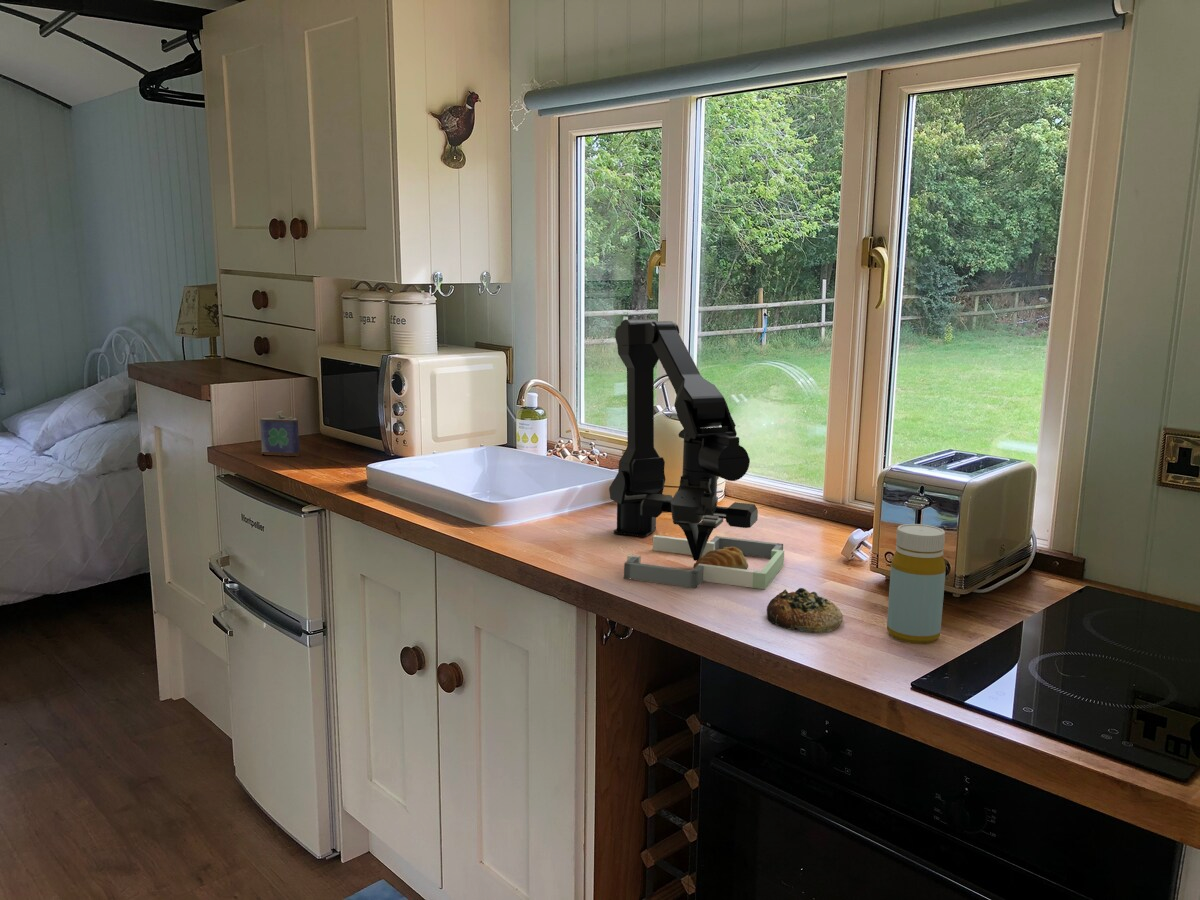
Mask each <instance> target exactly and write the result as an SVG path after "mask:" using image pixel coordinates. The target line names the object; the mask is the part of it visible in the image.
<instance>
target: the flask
mask: <svg viewBox="0 0 1200 900" xmlns="http://www.w3.org/2000/svg"><path fill="white" fill-rule="evenodd" d="M283 412H284V411H283V410H279V411H277V412H274V414H275V415H276V417H261V418H260V421H259V423H260V435H261V437H260V439H261V440H260V441H261V442H260V443H261V453H262V452H279V453H298V452H300V451H301V450H300V447H301V446H300V437H299V436H300V435H299V420H298V419H297V418H295V417H294V418H293V417H292V416H285V414H282V413H283Z"/></svg>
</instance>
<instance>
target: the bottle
mask: <svg viewBox="0 0 1200 900" xmlns="http://www.w3.org/2000/svg"><path fill="white" fill-rule="evenodd" d="M945 538H946V532H945V530H944V529H943V528H940V527H937V526H934V525H929V524H924V523H923V524H922V523H921V524H920V523H906V524H901V525H899V526H897V528H896V537H895V542H896V543H895V544H896V545H895V552H894V553H893V557H892V558H891V564H890V565H891V566H890V573H889V574H890V576H889V587H888V588H889V589H888V604H887V617H886V630H887V632H888V634H889V635H890V636H891V637H892V638H893V639H896V640H898V641H900V642H904V643H909V644H917V645H924V644H931V643H934V642H935V641H936V640H938V638H939V637H940V635H941V630H942V618H943V607H944V605H943V603H944V596H945V595H944V593H945V582H946V570H947V569H946V567H947V566H946V565H947V564H946V562H945V559H944V551H945V550H944V549H945Z"/></svg>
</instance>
